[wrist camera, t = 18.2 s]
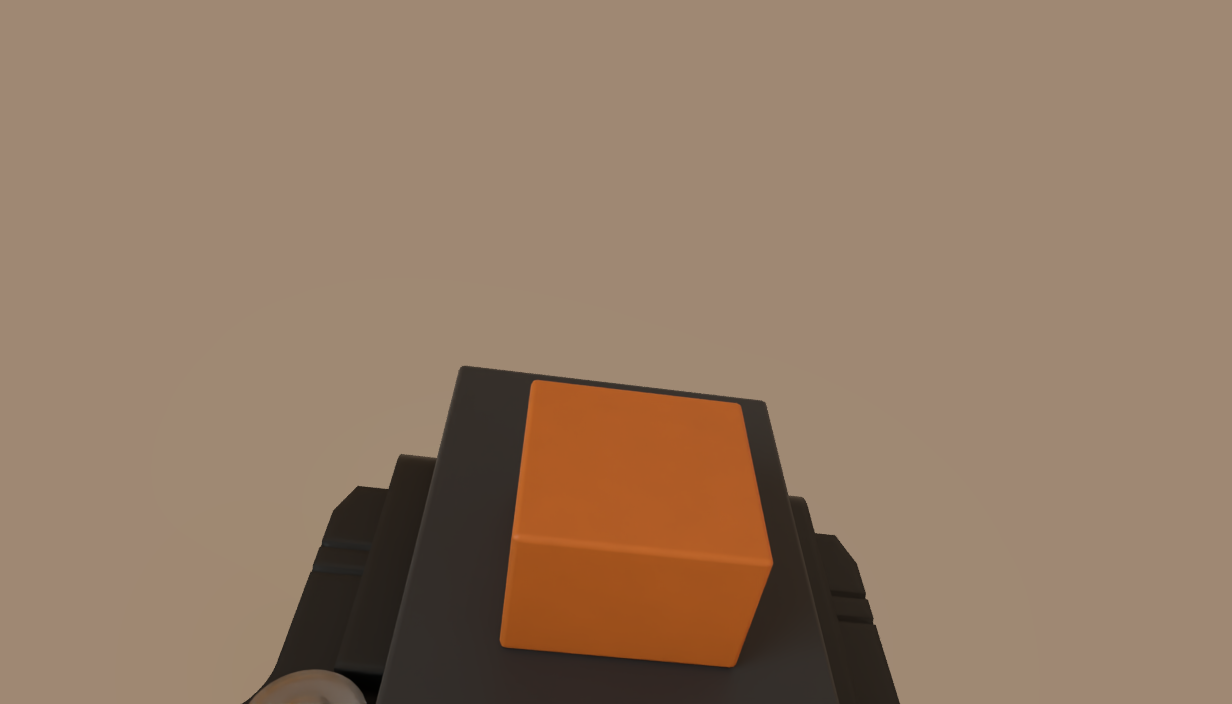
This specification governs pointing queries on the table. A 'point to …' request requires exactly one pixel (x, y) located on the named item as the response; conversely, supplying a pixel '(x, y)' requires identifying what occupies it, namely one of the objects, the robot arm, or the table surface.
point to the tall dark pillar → (605, 554)
